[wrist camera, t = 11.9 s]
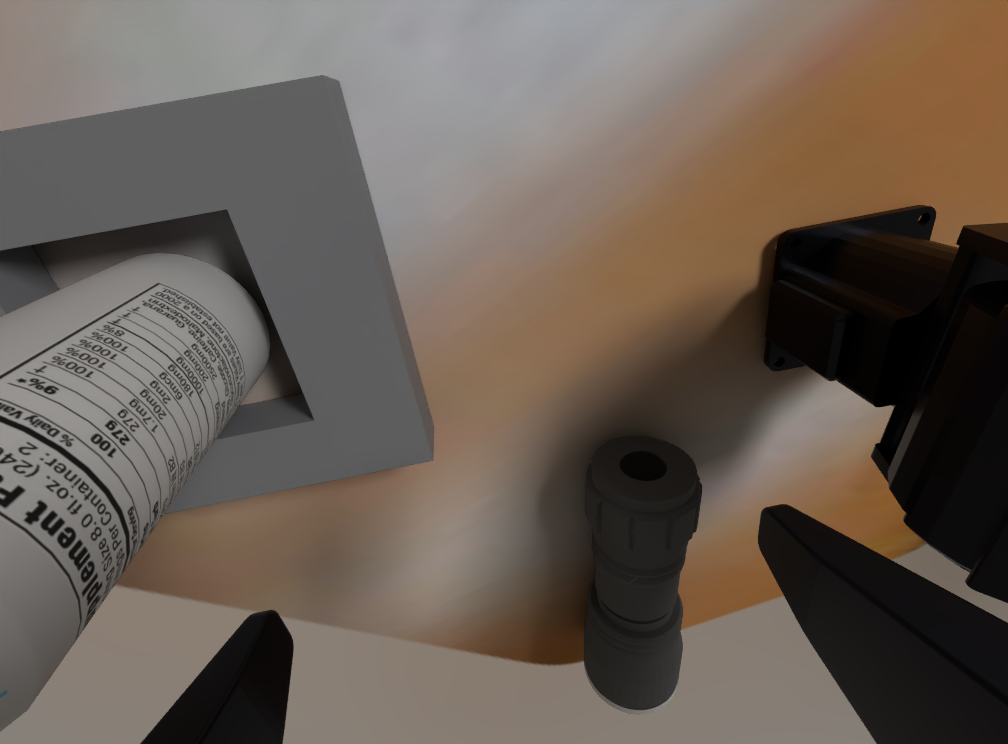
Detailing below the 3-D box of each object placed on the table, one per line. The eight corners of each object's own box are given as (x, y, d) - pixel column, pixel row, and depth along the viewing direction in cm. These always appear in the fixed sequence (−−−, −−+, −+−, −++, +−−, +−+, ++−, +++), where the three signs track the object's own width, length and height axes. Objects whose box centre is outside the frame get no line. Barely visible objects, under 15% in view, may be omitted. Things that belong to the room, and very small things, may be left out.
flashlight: (570, 434, 24) (602, 512, 19) (676, 420, 24) (733, 493, 20) (574, 630, 31) (599, 722, 26) (656, 617, 32) (694, 705, 27)
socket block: (339, 81, 16) (322, 74, 14) (433, 427, 23) (433, 460, 20) (-158, 168, 16) (-257, 176, 13) (88, 495, 22) (49, 536, 20)
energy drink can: (82, 247, 17) (-1041, 661, 4) (258, 244, 18) (-239, 594, 5) (140, 393, 20) (-427, 916, 7) (291, 385, 21) (32, 852, 8)
